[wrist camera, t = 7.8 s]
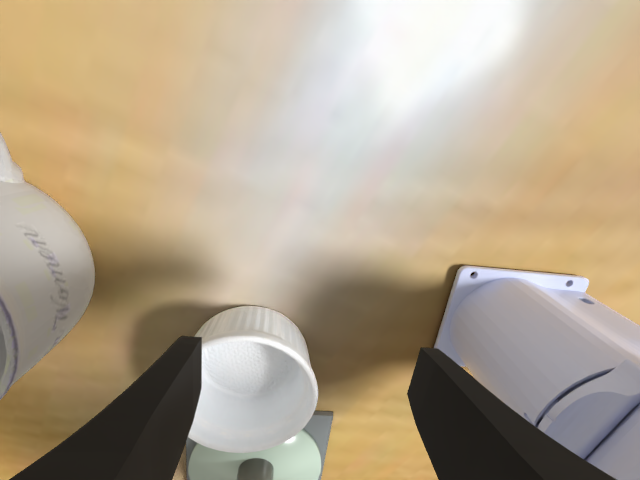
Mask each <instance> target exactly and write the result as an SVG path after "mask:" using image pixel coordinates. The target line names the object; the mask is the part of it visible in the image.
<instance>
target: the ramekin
mask: <svg viewBox="0 0 640 480" xmlns="http://www.w3.org/2000/svg"><path fill="white" fill-rule="evenodd" d="M194 337H202V388H201V392H200V397H199V401H198V405H197V409H196V413H195V417H194V420H193V424H192V426H191V429H190V432H189V435H188V437H189V438H190V439H192V440H193V441H195V442H197V443H199V444H201V445H203V446H205V447H208V448H211V449H215V450H218V451H224V452H231V453H251V452H258V451H262V450H266V449H269V448H272V447H275V446H278V445H280V444H282V443H284V442H286V441H287V440H289V439H291V438H292V437H294V436H295V435H297V433H299V432H300V431H301V430H302V429H303V428H304V427H305V426H306V424H307V423H308V422H309V420H310V419H311V417H312V415H313V413H314V411H315V409H316V405H317V401H318V385H317V381H316V377H315V375H314V372H313V370H312V368H311V364H310V359H309V353H308V349H307V345H306V341H305V339H304V337H303V335H302V333H301V332H300V330H299V329H298V327H297V326H296V325H295V324H294V323H293V322H292V321H291V320H290V319H288V318H287V317H286V316H285V315H283V314H281V313H279V312H277V311H275V310H272V309H269V308H265V307H259V306H241V307H236V308H232V309H228V310H225V311H223V312H221V313H218V314H217V315H215V316H213V317H212V318H210V319H209V320H208V321H207V322H206V323H204V324H203V326H202V327H201V328H200V329H199V330H198V332H197V333H196V335H195V336H194Z"/></svg>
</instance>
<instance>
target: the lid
mask: <svg viewBox="0 0 640 480" xmlns="http://www.w3.org/2000/svg"><path fill="white" fill-rule="evenodd" d="M320 472H321V455H320V450H319V447H318V445H317V443H316V441H315V440H314V438H313V437H312V436H311V435H310V434H309V432H307V431H306V430H305V429H304V428H303V429H302V430H301V431H300V432H299V433H297V435H295V436H294V437H292V438H291V439H289V440H287V441H286V442H284V443H282V444H280V445H278V446H275V447H272V448H269V449H266V450H262V451H258V452H251V453H231V452H224V451H218V450H215V449H211V448H208V447H205V446H203V445H201V444H199V443H196V444H195V446H194V448H193V451H192V454H191V457H190V460H189V465H188V473H189V477H190V480H318V478H319V475H320Z"/></svg>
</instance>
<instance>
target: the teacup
mask: <svg viewBox="0 0 640 480" xmlns="http://www.w3.org/2000/svg"><path fill="white" fill-rule="evenodd" d="M94 283H95V268H94V261H93V257H92V253H91V250H90V247H89V245H88V242H87V240H86V238H85V236H84V234H83V233H82V231H81V229H80V228H79V226H78V225H77V223H76V222H75V221H74V220H73V218H72V217H71V216H70V215H69V214H68V212H67V211H66V210H65V209H64V208H63V207H61V206H60V205H59V204H58V203H57V202H56V201H55V200H54V199H52V198H51V197H50V196H48V195H47V194H46V193H44V192H43V191H41V190H39V189H38V188H36V187H35V186H33V185H31V184H29V183H27V182H25V181H24V178H23V172H22V169H21V167H19V166H18V165H17V164H16V163H15V162H13V161H12V158H11V155H10V152H9V150H8V147H7V145H6V143H5V140H4V138H3V136H2V134H1V133H0V400H1V399H2V398H3V396H4V395H5V394H6V393H7V391H8V390H9V388H10V387H11V386H12V385H13V384H14V383H15V382H16V381H17V380H18V379H20V378H21V377H22V376H23V375H24V374H25V373H26V372H28V371H29V370H30V369H31V368H32V367H33V366H34V365H36V364H37V363H38V362H39V361H40V360H41V359H42V358H43V357H44V356H45V355H46V354H47V353H48V352H49V351H50V350H51V349H53V348H54V347H55V346H56V345H57V344H58V343H59V342H60V341H61V340H62V339H63V338H64V337H65V336H66V335H67V334H68V333H69V332H70V331H71V329H72V328H73V327H74V326H75V325H76V323H77V322H78V321H79V320H80V318H81V317H82V315H83V314H84V312H85V310H86V308H87V307H88V304H89V302H90V299H91V297H92V294H93V289H94Z"/></svg>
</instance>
